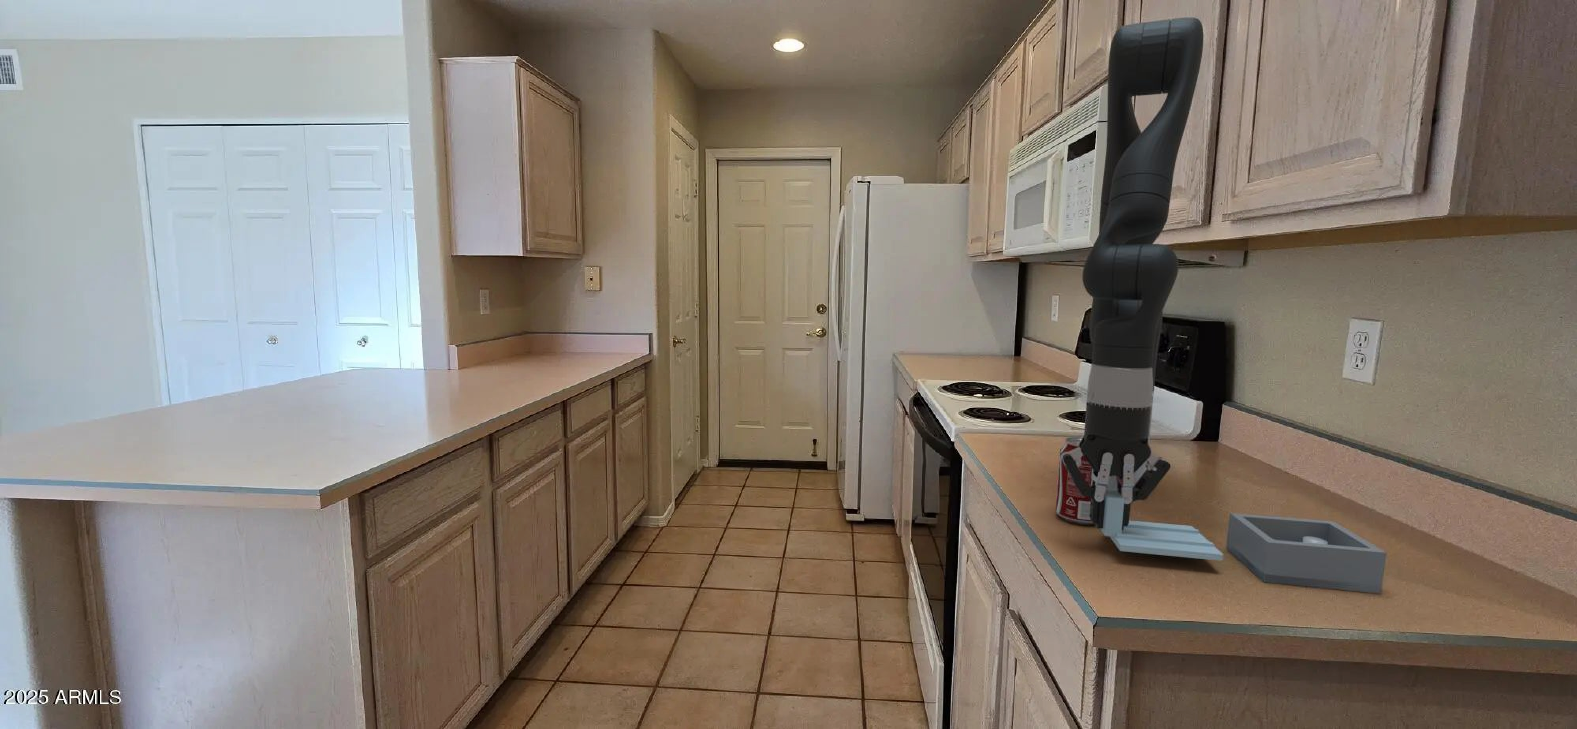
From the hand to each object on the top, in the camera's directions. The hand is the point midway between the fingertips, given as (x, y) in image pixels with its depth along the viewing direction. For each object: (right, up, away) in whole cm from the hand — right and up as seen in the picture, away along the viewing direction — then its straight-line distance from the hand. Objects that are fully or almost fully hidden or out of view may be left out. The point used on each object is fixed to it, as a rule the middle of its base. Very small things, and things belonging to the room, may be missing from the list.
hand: (1108, 526), depth 85 cm
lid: (+6, -2, -1) cm, 6 cm away
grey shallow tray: (+21, -4, -5) cm, 22 cm away
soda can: (+1, -2, +11) cm, 12 cm away
